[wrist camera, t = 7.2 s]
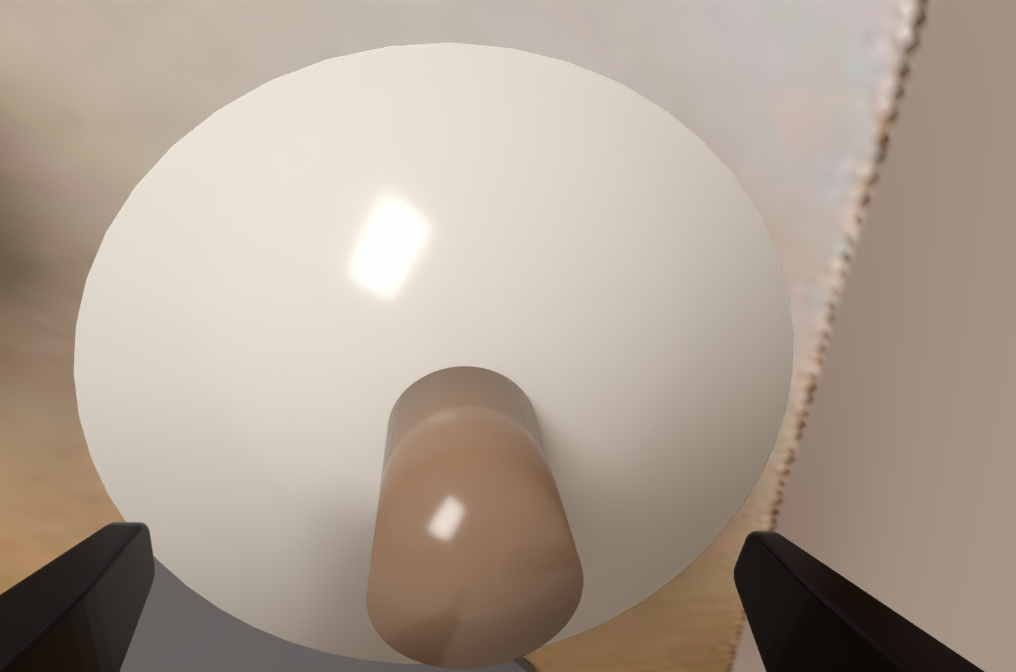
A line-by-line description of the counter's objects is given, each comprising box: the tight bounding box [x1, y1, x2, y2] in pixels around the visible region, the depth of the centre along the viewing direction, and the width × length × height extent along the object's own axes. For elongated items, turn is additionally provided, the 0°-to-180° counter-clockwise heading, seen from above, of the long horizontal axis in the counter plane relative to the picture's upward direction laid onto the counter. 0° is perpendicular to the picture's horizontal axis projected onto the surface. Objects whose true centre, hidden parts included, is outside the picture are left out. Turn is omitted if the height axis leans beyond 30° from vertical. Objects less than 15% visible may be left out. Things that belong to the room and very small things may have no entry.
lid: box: [74, 43, 793, 669], centre depth 10 cm, size 14×14×5 cm
